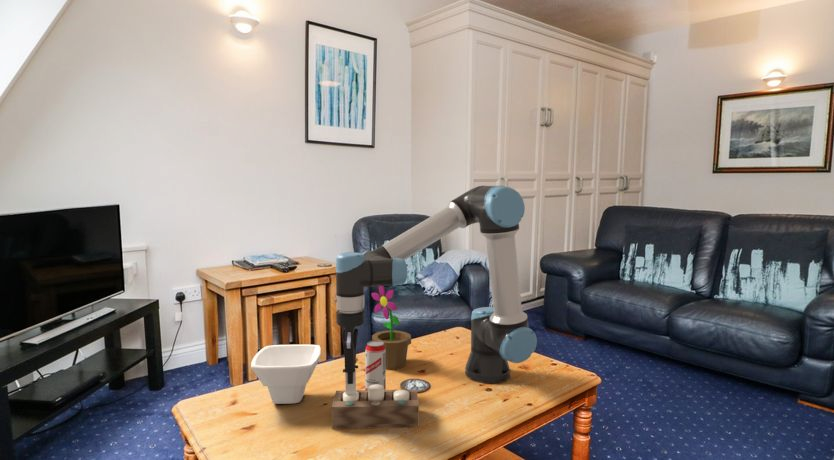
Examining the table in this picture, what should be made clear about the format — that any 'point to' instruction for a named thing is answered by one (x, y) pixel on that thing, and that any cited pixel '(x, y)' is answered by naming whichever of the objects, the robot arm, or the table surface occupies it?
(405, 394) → the button
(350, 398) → the button
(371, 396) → the button middle
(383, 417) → the button board
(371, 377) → the beer can
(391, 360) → the flowerpot
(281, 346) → the bowl
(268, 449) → the table surface
